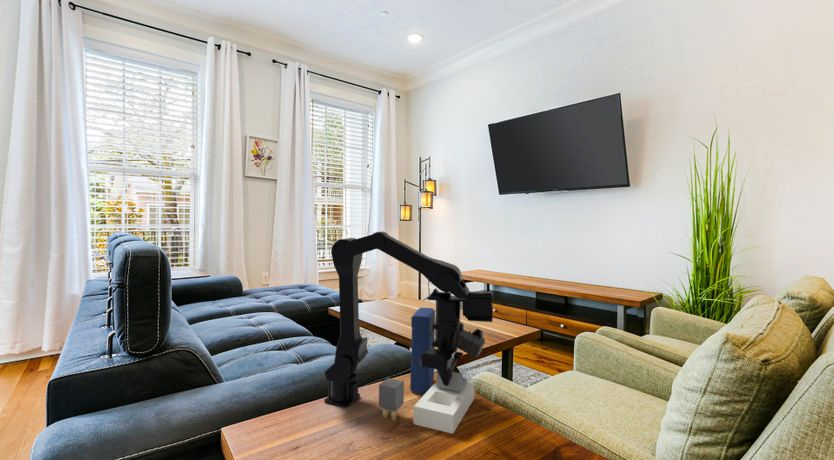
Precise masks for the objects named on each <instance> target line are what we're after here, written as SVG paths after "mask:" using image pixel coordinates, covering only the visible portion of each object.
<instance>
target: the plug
mask: <svg viewBox="0 0 834 460" xmlns="http://www.w3.org/2000/svg"><path fill="white" fill-rule="evenodd" d="M404 386H405V380H399V379H395V378H389V377H387V378H385V379H384V380H383V381H382V382H381V383H380V384H378V408H380V409H382V418H384V419H387V418H389V411H390V414H391V415H390V416H391V417H390V418H391V420H392V421H396V420H397V418H398V415H397V414H398V413H397V411H398V410H399V409H400V407H401V406H403V404H404V401H405V400H404V399H405V398H404V397H405V390H404V389H405V387H404Z"/></svg>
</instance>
